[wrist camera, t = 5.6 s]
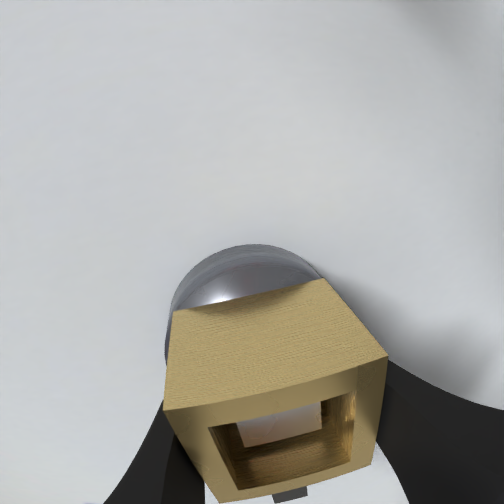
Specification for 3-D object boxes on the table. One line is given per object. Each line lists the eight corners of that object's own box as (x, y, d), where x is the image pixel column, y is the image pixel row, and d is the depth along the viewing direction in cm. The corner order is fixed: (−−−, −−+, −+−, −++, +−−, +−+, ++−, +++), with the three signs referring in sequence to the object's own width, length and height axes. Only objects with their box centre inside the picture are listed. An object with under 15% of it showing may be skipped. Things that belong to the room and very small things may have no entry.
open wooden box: (329, 384, 13) (370, 464, 8) (210, 413, 12) (219, 503, 8) (323, 277, 11) (388, 355, 7) (173, 311, 10) (162, 410, 6)
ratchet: (332, 468, 19) (356, 526, 14) (238, 491, 19) (249, 553, 14) (321, 228, 13) (393, 282, 8) (148, 265, 13) (118, 345, 7)
